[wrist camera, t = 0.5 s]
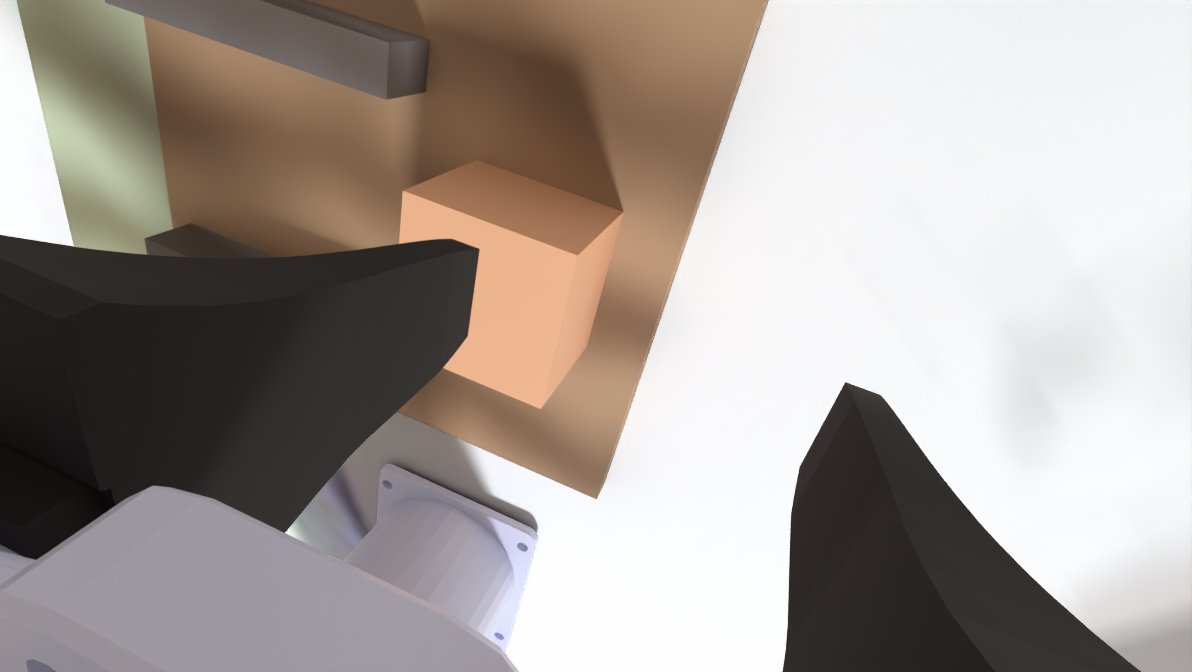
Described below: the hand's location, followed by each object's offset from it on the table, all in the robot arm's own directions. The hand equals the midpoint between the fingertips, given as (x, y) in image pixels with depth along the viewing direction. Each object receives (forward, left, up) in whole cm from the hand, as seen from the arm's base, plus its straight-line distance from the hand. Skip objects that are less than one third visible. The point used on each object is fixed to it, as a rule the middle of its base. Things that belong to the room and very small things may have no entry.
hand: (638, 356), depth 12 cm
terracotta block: (-3, +5, -8) cm, 10 cm away
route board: (-3, +14, -9) cm, 16 cm away
